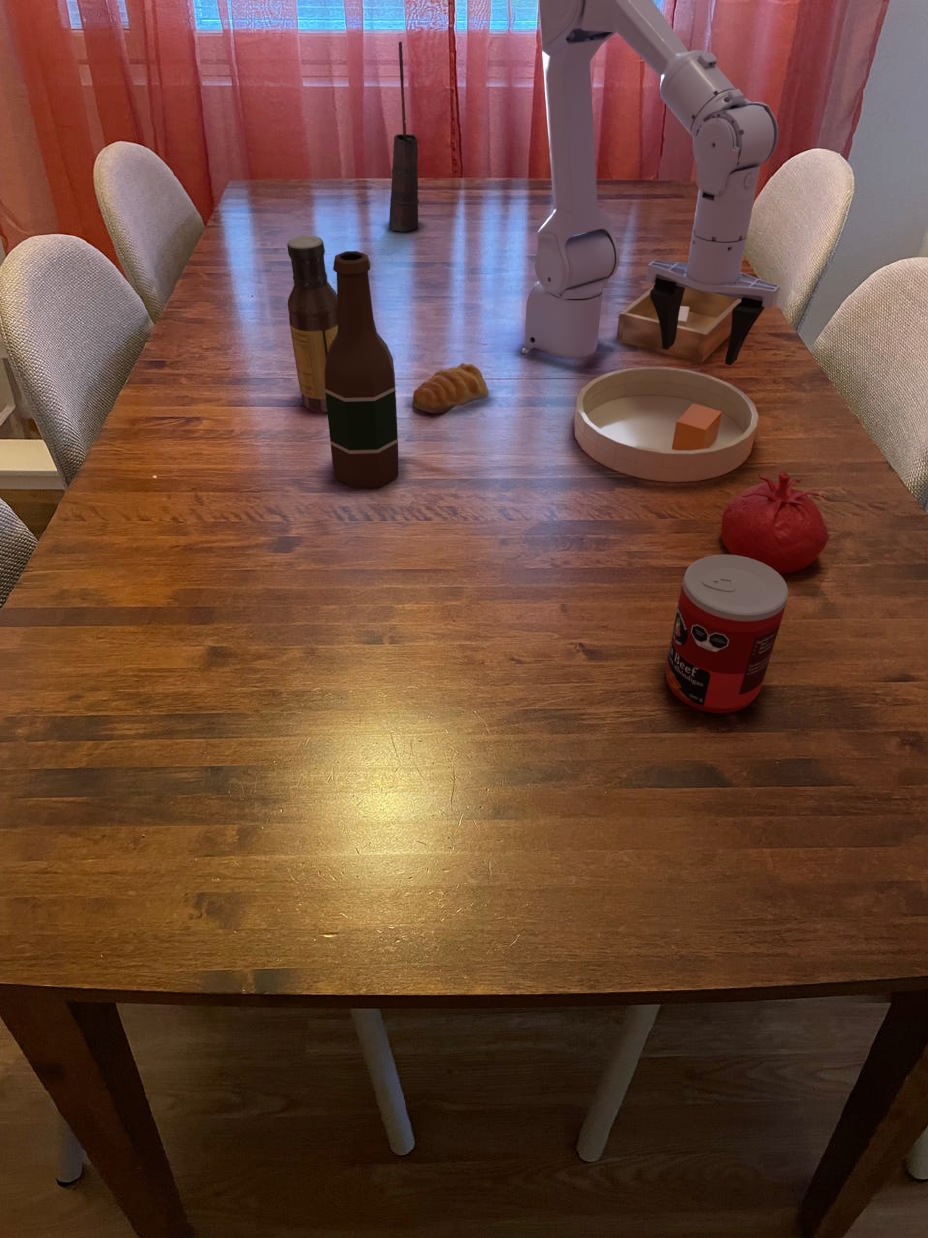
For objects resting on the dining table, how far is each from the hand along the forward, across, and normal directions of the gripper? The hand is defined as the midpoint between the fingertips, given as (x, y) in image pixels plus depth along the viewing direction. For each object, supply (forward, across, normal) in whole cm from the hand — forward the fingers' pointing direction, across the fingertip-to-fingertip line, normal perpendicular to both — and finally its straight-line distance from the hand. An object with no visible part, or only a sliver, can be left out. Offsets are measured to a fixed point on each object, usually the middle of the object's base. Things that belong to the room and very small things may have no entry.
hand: (699, 353), depth 109 cm
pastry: (+9, +27, +11) cm, 30 cm away
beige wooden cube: (+8, +10, -20) cm, 24 cm away
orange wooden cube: (+8, -3, +7) cm, 11 cm away
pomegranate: (+9, -17, +22) cm, 29 cm away
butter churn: (+8, +67, -37) cm, 77 cm away
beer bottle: (+9, +26, +30) cm, 41 cm away
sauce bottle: (+9, +40, +20) cm, 45 cm away
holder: (+8, +10, -23) cm, 26 cm away
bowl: (+8, +1, +6) cm, 11 cm away
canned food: (+9, -19, +42) cm, 47 cm away
